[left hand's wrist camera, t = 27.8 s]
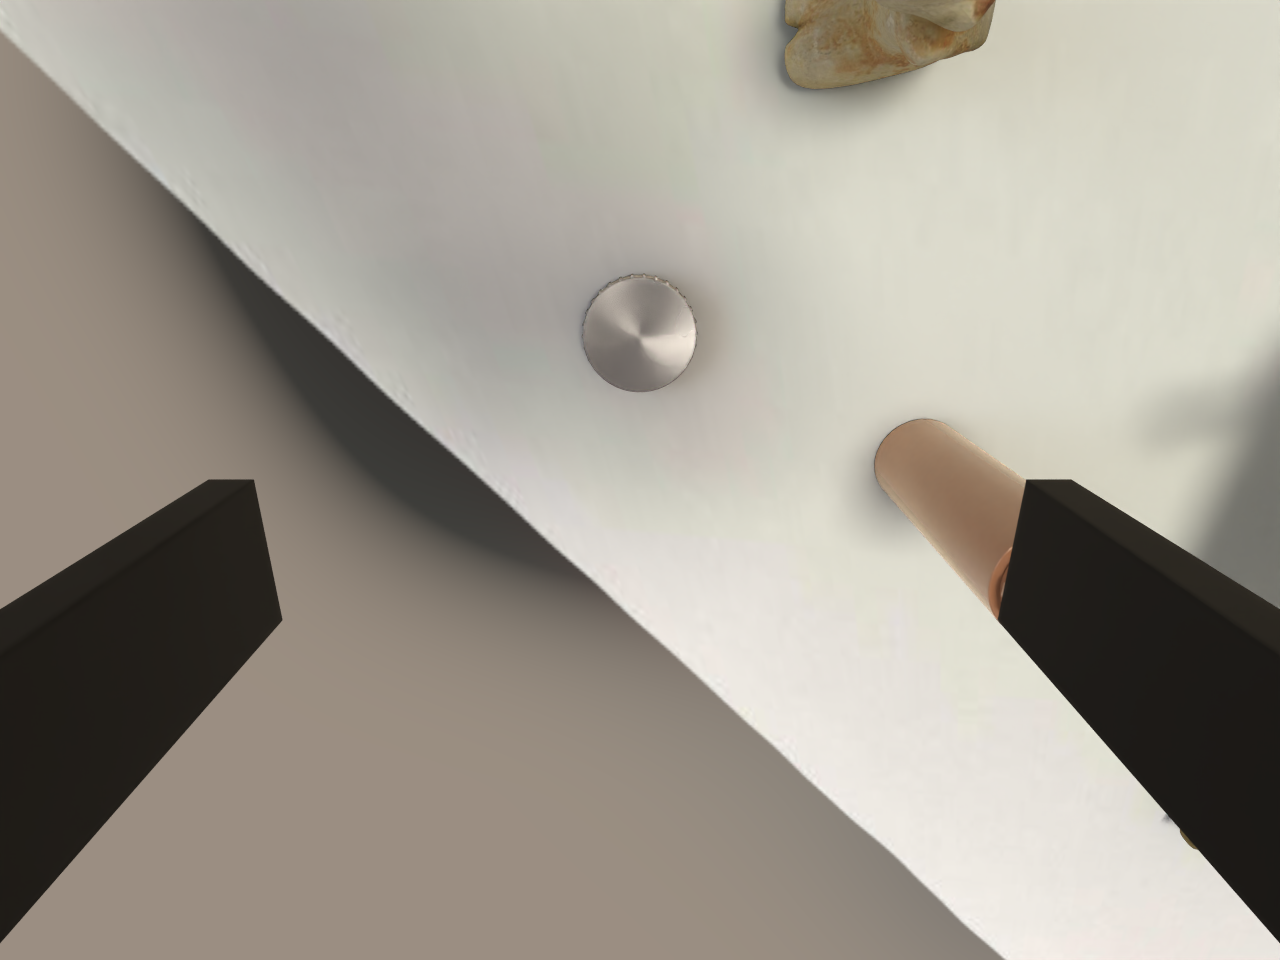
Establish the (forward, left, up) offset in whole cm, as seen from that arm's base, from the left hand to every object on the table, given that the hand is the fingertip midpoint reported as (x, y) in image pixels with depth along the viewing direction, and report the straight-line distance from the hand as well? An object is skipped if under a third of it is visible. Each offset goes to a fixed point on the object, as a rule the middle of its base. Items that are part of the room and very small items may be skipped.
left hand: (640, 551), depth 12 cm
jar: (+16, +6, -26) cm, 31 cm away
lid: (0, 0, -25) cm, 25 cm away
